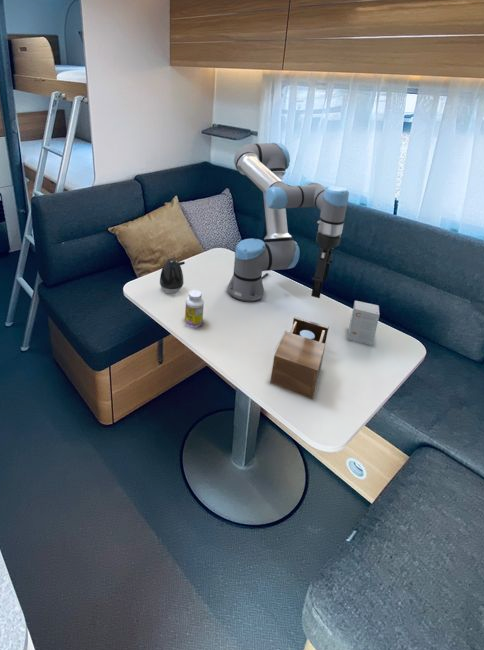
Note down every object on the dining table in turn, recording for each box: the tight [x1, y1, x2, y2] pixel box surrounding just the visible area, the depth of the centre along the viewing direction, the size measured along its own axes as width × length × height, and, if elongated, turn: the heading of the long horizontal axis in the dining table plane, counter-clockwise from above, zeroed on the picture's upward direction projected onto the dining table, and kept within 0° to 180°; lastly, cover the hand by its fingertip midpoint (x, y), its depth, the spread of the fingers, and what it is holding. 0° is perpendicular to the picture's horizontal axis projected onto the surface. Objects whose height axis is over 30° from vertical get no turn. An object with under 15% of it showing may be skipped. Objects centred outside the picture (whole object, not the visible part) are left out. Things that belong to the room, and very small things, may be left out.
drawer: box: [289, 316, 329, 345], centre depth 138 cm, size 17×11×9 cm
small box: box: [348, 300, 380, 346], centre depth 146 cm, size 8×6×13 cm
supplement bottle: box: [184, 289, 205, 328], centre depth 152 cm, size 7×7×13 cm
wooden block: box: [269, 330, 326, 400], centre depth 127 cm, size 14×13×11 cm
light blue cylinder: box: [299, 330, 315, 340], centre depth 137 cm, size 5×5×6 cm
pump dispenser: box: [159, 257, 186, 294], centre depth 173 cm, size 10×10×15 cm
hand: (319, 287), depth 144 cm, fingers open, 13 cm apart
